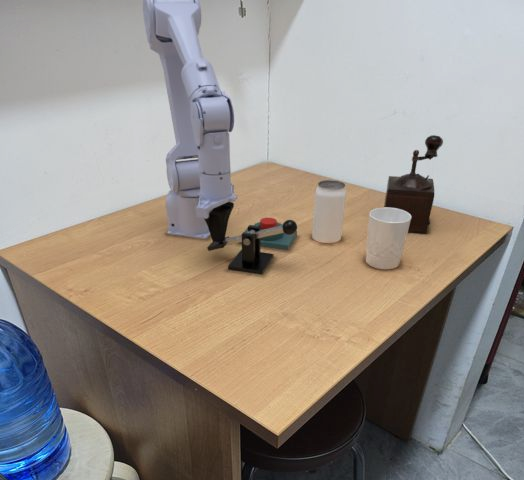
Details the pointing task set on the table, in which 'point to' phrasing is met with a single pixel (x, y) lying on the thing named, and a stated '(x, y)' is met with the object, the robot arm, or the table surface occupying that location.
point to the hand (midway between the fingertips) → (218, 240)
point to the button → (268, 223)
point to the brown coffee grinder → (414, 190)
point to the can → (329, 211)
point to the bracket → (251, 255)
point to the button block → (276, 239)
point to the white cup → (386, 237)
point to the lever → (257, 234)
